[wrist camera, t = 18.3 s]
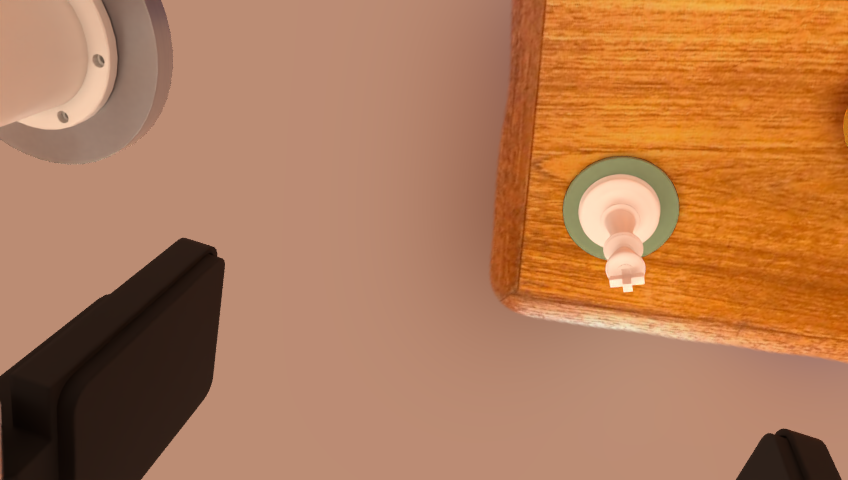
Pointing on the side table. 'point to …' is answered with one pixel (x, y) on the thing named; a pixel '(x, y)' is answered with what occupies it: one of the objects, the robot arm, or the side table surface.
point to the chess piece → (620, 224)
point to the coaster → (628, 167)
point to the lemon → (846, 127)
